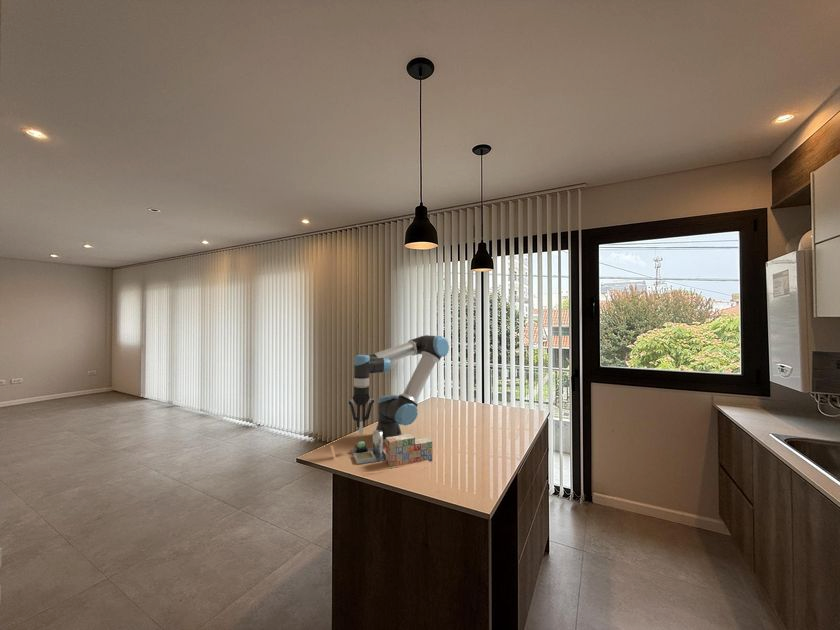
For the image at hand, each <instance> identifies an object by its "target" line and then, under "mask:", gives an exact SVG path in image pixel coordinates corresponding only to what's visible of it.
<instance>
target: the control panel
mask: <svg viewBox="0 0 840 630" xmlns="http://www.w3.org/2000/svg"><path fill="white" fill-rule="evenodd" d="M350 452H351V453H352V457H353V459H354V462H355V464H356V466H361V465H366V464H369V465H370V464H374V463H382V462H383V463H384V462H386V452H385V451H383V452H382V453H380V454H374V453H373V446H372V447H368V446H367V444H366V443H365V448H360V449H357V444H356V445H354V449H351V450H350Z"/></svg>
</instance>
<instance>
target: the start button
mask: <svg viewBox="0 0 840 630" xmlns="http://www.w3.org/2000/svg"><path fill="white" fill-rule="evenodd" d="M365 444H366V442H365V441H363V440H362V441H357V444H356V445H357V449H360V448H365Z"/></svg>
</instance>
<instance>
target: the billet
mask: <svg viewBox="0 0 840 630" xmlns="http://www.w3.org/2000/svg"><path fill="white" fill-rule="evenodd" d="M383 445H384V439H383V431H382V430H376V429H375V430H373V431H372V447H373V453H374V454H380V453H382V452H384V451H383V450H384V446H383Z"/></svg>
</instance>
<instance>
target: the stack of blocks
mask: <svg viewBox="0 0 840 630" xmlns="http://www.w3.org/2000/svg"><path fill="white" fill-rule="evenodd" d="M384 444H385V449H384V452H385V455H386V461H385V464H388V466H389V467H390V468H389V469H393V467H394V466H395V467H394V469H396V468H399V466H401V465H406V464H411V463H417V462H423V461H428V462H432V461H433V452H434V451H433V441H432V440H431V439H430V438H428V437H422V438H416V437H415V436H413V435H412V434H410V433H405V434H401V435H399V436H393V437H386V439H385V443H384ZM401 467H404V466H401Z"/></svg>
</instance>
